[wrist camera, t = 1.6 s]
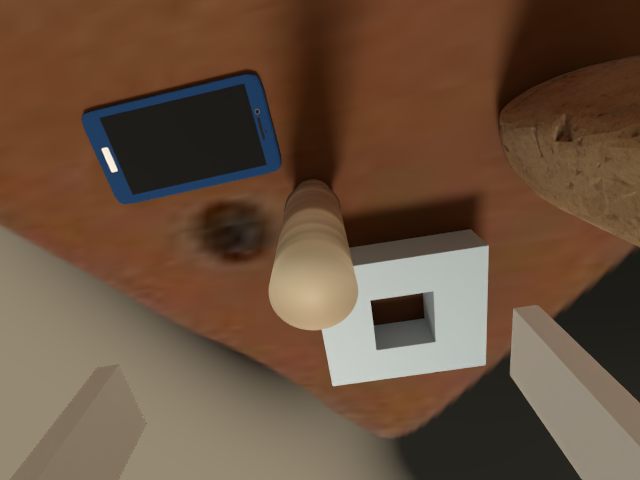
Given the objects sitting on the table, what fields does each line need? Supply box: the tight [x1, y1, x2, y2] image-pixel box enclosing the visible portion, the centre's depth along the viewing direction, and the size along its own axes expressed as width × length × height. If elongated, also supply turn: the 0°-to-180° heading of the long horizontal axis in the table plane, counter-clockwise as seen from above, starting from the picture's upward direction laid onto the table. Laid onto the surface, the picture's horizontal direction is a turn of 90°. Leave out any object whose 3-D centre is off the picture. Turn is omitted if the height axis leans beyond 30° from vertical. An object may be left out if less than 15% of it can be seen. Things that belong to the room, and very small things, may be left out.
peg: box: [269, 179, 358, 330], centre depth 23 cm, size 4×4×15 cm
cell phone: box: [82, 73, 281, 204], centre depth 28 cm, size 7×14×1 cm, turn 102°
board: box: [322, 229, 489, 386], centre depth 32 cm, size 12×14×4 cm
